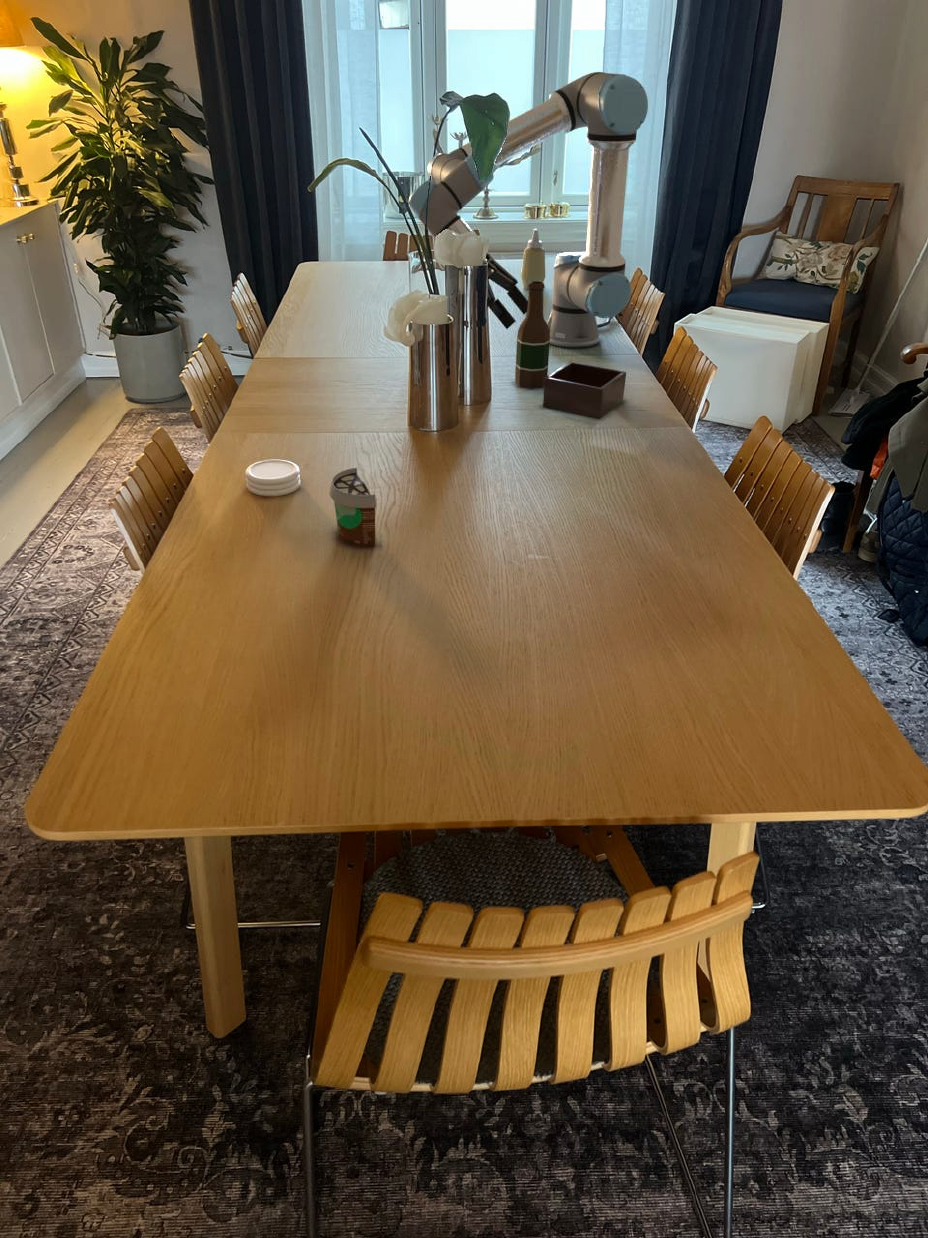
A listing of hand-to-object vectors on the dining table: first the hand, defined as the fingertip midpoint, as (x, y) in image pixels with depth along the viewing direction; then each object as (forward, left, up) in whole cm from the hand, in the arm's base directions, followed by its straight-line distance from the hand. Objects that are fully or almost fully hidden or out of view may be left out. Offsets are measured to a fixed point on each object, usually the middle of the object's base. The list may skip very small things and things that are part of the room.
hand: (520, 317), depth 225 cm
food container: (+87, +13, -16) cm, 90 cm away
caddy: (+5, +20, -16) cm, 26 cm away
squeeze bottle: (-87, -38, -16) cm, 96 cm away
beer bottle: (-1, +4, -16) cm, 16 cm away
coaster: (+78, -11, -16) cm, 81 cm away
